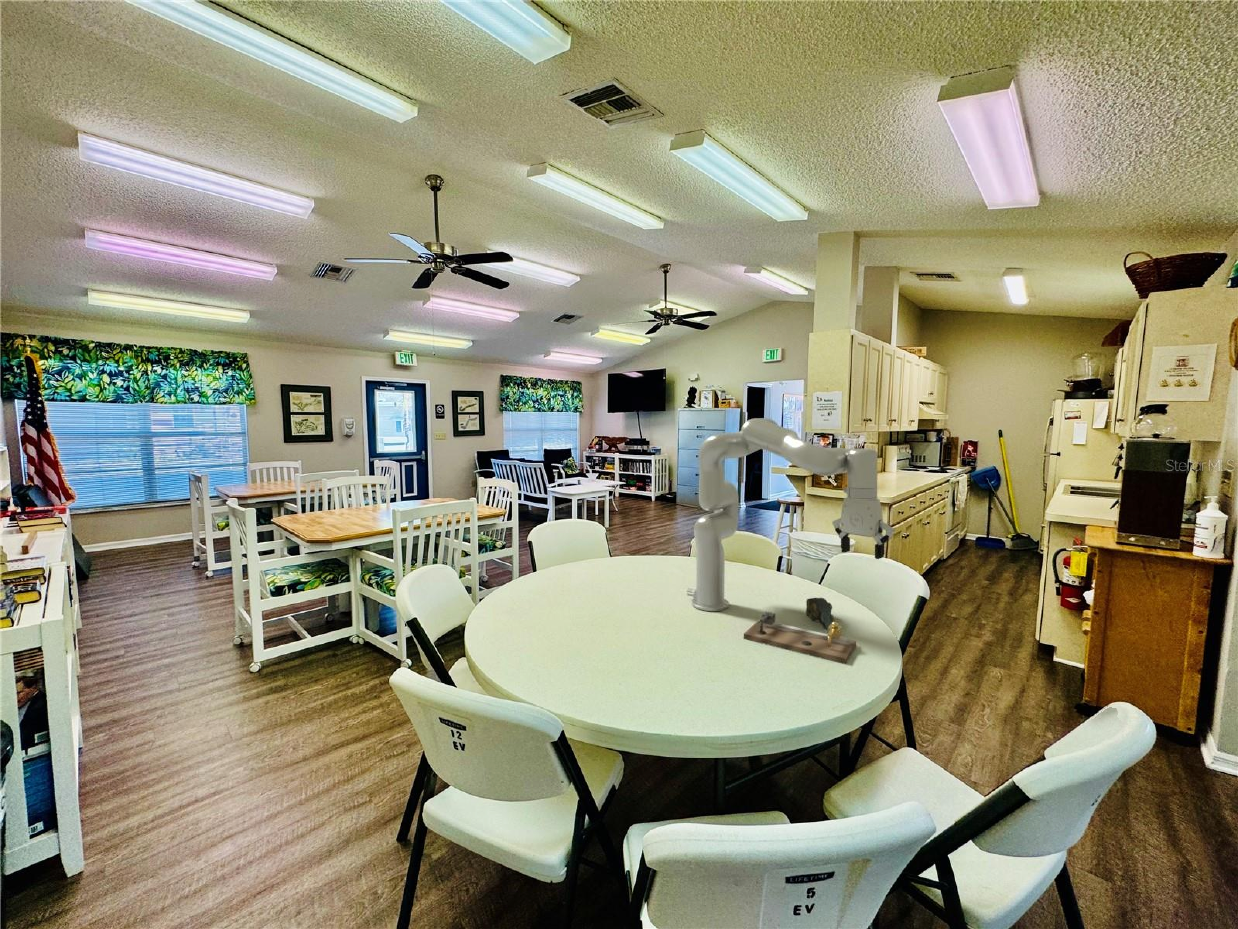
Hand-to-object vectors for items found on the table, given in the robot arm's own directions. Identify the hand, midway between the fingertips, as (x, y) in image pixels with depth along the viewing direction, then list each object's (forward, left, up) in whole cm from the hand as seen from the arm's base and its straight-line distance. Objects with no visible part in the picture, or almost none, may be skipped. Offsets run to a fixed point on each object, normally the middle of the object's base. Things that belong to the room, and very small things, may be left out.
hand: (862, 554), depth 143 cm
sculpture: (-14, +12, -27) cm, 32 cm away
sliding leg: (-6, -6, -24) cm, 25 cm away
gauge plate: (-15, -7, -26) cm, 31 cm away
